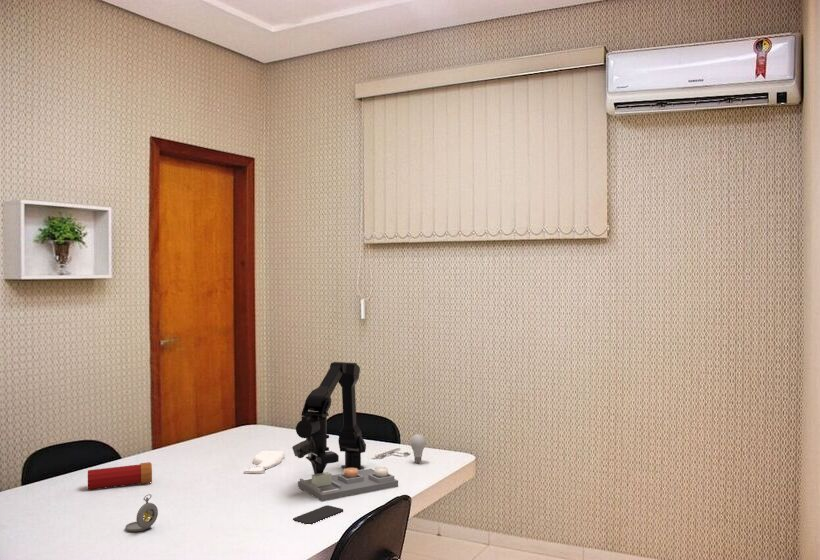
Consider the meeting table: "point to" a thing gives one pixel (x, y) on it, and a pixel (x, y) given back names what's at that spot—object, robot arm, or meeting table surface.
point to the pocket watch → (148, 511)
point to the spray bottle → (266, 461)
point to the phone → (318, 514)
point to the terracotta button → (350, 472)
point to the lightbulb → (417, 446)
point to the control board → (349, 485)
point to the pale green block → (322, 479)
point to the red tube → (120, 476)
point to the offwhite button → (381, 471)
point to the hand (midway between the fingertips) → (317, 479)
